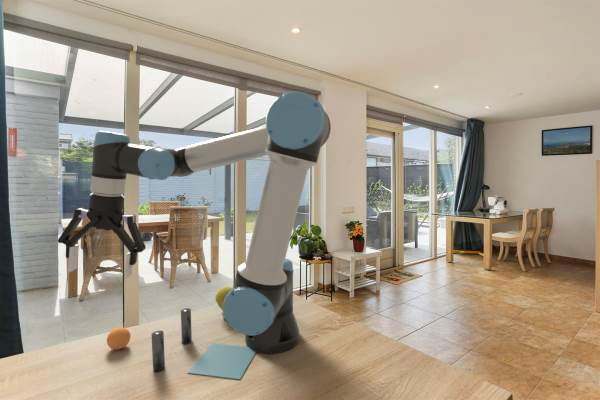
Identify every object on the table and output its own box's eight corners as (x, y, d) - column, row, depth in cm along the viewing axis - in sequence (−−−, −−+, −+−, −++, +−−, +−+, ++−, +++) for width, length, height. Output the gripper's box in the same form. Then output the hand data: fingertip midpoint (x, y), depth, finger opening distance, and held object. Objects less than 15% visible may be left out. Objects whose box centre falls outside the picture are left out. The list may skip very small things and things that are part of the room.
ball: (135, 343, 88) (134, 324, 87) (120, 355, 82) (119, 334, 82) (117, 341, 88) (116, 322, 88) (102, 352, 83) (101, 332, 83)
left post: (167, 366, 77) (165, 331, 76) (160, 373, 75) (159, 336, 74) (157, 365, 78) (155, 330, 77) (150, 372, 75) (149, 335, 74)
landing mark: (257, 348, 85) (257, 347, 85) (240, 379, 72) (240, 379, 72) (212, 343, 87) (212, 343, 87) (187, 373, 75) (187, 372, 75)
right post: (193, 339, 90) (192, 308, 89) (188, 344, 87) (187, 312, 86) (185, 338, 90) (184, 307, 89) (180, 343, 88) (178, 311, 87)
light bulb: (232, 323, 99) (231, 292, 98) (212, 321, 100) (211, 290, 100) (240, 313, 106) (239, 284, 105) (221, 312, 107) (220, 283, 106)
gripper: (163, 198, 86) (154, 273, 89) (63, 184, 83) (57, 262, 86) (154, 202, 79) (145, 283, 82) (44, 187, 76) (38, 272, 78)
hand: (100, 273), depth 84 cm, fingers open, 13 cm apart
